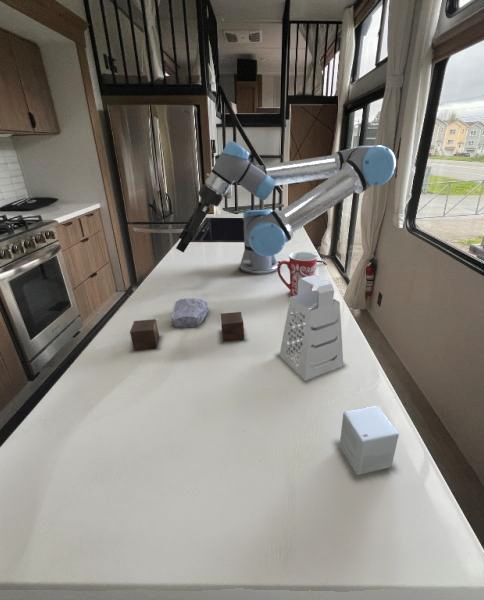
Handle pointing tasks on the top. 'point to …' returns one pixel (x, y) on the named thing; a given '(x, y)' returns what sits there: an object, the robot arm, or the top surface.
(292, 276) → the mug
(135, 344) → the walnut block
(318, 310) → the grater
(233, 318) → the walnut block
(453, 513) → the top surface
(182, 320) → the stone block
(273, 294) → the top surface
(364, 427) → the product box
